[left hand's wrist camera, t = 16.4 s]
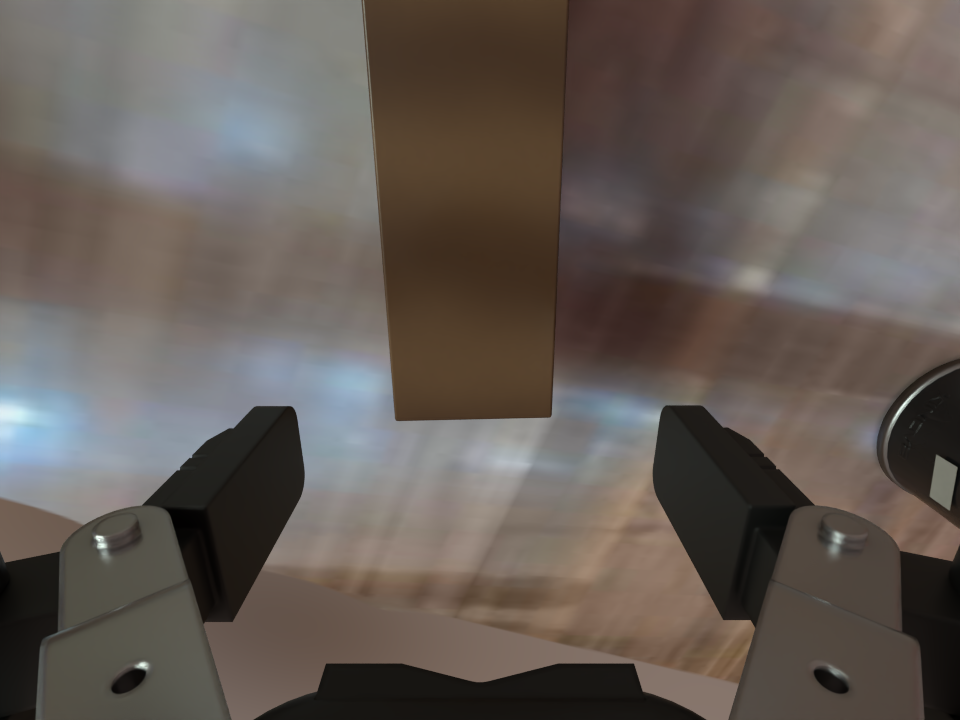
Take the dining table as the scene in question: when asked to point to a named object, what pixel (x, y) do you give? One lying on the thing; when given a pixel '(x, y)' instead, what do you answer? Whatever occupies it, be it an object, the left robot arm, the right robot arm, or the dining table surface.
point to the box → (469, 199)
